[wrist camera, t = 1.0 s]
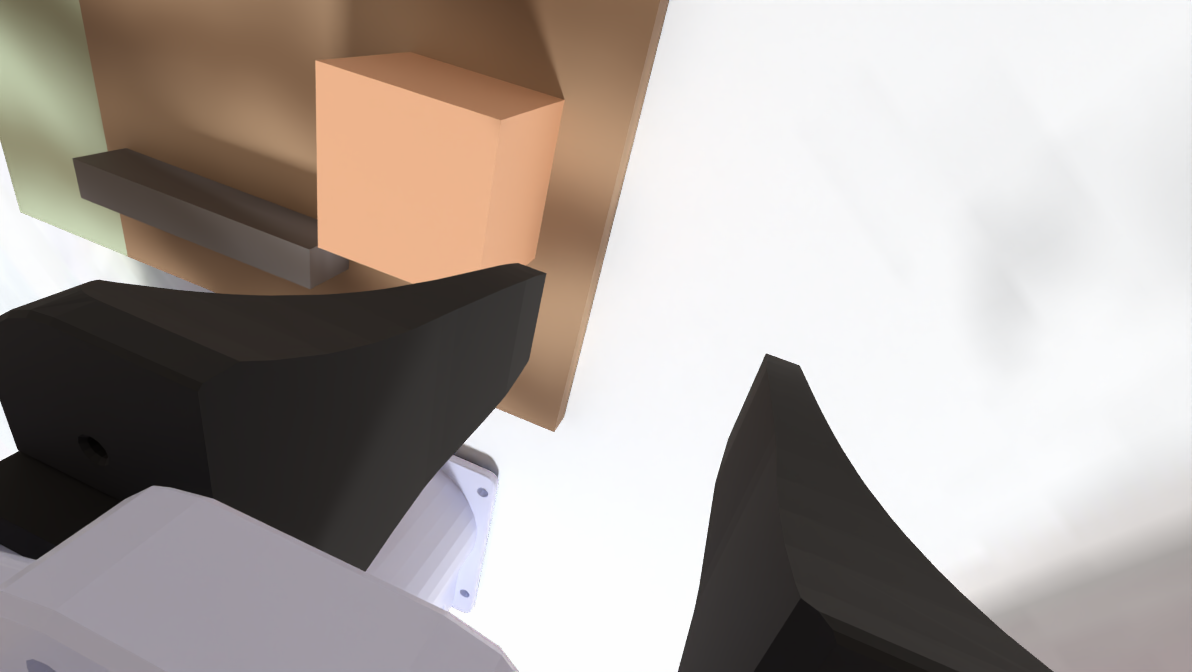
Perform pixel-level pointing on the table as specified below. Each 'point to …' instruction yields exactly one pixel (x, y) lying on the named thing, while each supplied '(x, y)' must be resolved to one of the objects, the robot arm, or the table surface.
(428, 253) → the terracotta block
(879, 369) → the table surface
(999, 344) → the table surface
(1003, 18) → the table surface
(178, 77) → the board
